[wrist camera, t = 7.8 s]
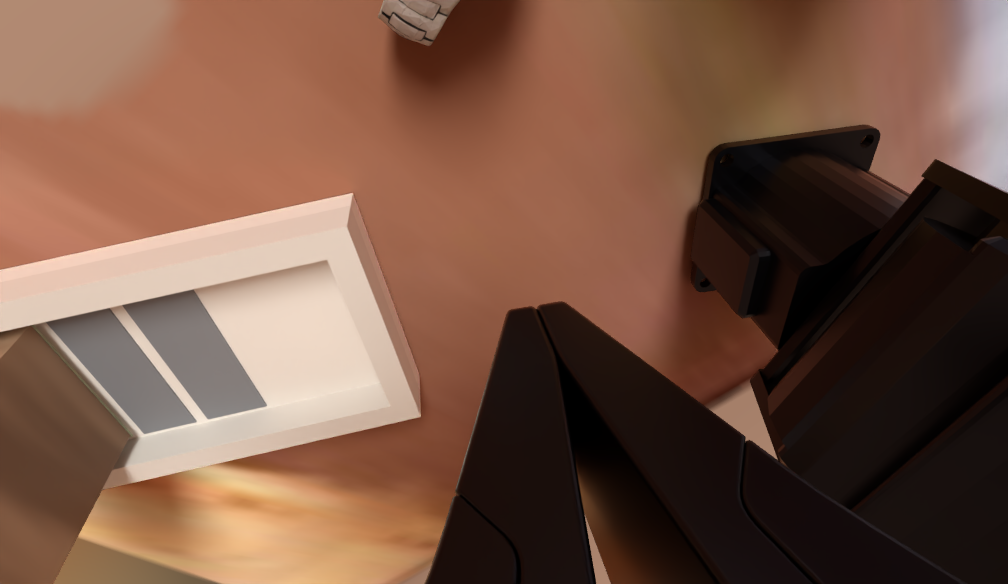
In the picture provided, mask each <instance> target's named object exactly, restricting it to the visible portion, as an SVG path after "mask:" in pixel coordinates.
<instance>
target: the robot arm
mask: <svg viewBox="0 0 1008 584" xmlns="http://www.w3.org/2000/svg"><path fill="white" fill-rule="evenodd" d="M865 136H866V138H865V140H864V141H863V142H862V143H861V141H862V139H863V138H864V137H865ZM879 140H880V132H879V130H877V129H876V128H874V127H872V126H869V125H858V126H850V127H843V128H836V129H828V130H821V131H813V132H806V133H798V134H791V135H784V136H776V137H769V138H761V139H754V140H746V141H739V142H732V143H724V144H721V145H719V146H717V147H716V148H714V150H713V151H712V152H711V154H710V157H709V162H708V169H707V175H706V182H705V188H704V195H703V200H702V201H701V203H700V204H699V206H698V211H697V218H696V224H695V231H694V238H693V244H692V251H691V259H692V260H693V266H692V273H691V284H692V285H693V286H694V288H695V289H696V290H697V291H699V292H707V291H714V290H717V291H718V292H719V293H720V295H721V296H722V297H723V298H724V299H725V301H726V302H727V303H728V304H729V306H730V307H731V308H732V309H733V310H734V312H735V313H736V314H737V315H739V316H740V317H741V318H748V317H751V318H752V320H753V321H754V322H755V323H756V324H757V326H758V327H759V328H760V329H761V330H762V332H763V333H764V334H765V335H766V336H767V337H768V339H769V340H770V341H771V342H772V343H773V345H774V346H775V347H776V348H777V349H778V350H779V351H778V352H777V353H776V354H775V356H774V357H773V358H772V359H771V360H770V362H769V363H768V364H767V365H766V366H765V368H764V369H759V370H758V371H757V372H756V374H755V375H754V376H753V377H752V378H751V380H750V383H751V386H752V389H753V391H754V394H755V397H756V400H757V402H758V405H759V408H760V411H761V414H762V416H763V419H764V422H765V425H766V427H767V430H768V433H769V436H770V438H771V441H772V444H773V447H774V450H775V453H776V455H777V458H778V460H777V459H775V458H774V457H773V456H771V455H770V454H768V453H767V452H766V451H764V450H763V449H762V448H760V447H759V446H758V445H756V444H755V443H754V442H752V441H750V440H749V441H746V442H745V436H744V435H743V434H741V433H740V432H739V431H737V430H736V429H734V428H733V427H732V426H730V425H729V424H728V423H726V422H725V421H724V420H722V419H721V418H720V417H718V416H717V415H716V414H714V413H713V412H712V411H710V410H709V409H708V408H706V407H705V406H704V405H702V404H701V403H700V402H698V401H697V400H696V399H694V398H693V397H692V396H690V395H689V394H688V393H686V392H685V391H684V390H682V389H681V388H680V387H678V386H677V385H676V384H674V383H673V382H671V381H670V380H669V379H667V378H666V377H665V376H663V375H662V374H661V373H659V372H658V371H657V370H655V369H654V368H653V367H651V366H650V365H649V364H647V363H646V362H645V361H643V360H642V359H641V358H639V357H638V356H637V355H635V354H634V353H633V352H631V351H630V350H629V349H627V348H626V347H625V346H623V345H622V344H621V343H619V342H618V341H616V340H615V339H614V338H612V337H611V336H610V335H608V334H607V333H606V332H604V331H603V330H602V329H600V328H599V327H598V326H596V325H595V324H594V323H592V322H591V321H590V320H588V319H587V318H586V317H584V316H583V315H582V314H580V313H579V312H578V311H576V310H575V309H574V308H572V307H571V306H570V305H568V304H567V303H565V302H554V303H548V304H542V305H539V306H538V307H537V309H536V308H534V307H532V306H530V307H523V308H517V309H511V310H509V311H508V312H507V314H506V317H505V321H504V324H503V328H502V331H501V335H500V338H499V341H498V345H497V348H496V352H495V355H494V359H493V362H492V366H491V369H490V373H489V376H488V379H487V383H486V386H485V390H484V393H483V397H482V400H481V404H480V407H479V410H478V414H477V417H476V421H475V424H474V428H473V431H472V435H471V438H470V441H469V445H468V448H467V452H466V455H465V459H464V462H463V466H462V469H461V473H460V476H459V479H458V483H457V486H456V490H455V494H456V496H454V497H453V499H452V502H451V506H450V509H449V513H448V516H447V519H446V523H445V526H444V529H443V532H442V535H441V538H440V541H439V544H438V547H437V551H436V554H435V557H434V560H433V563H432V566H431V569H430V571H429V574H428V576H427V579H426V582H425V584H596V579H595V573H594V568H593V562H592V556H591V550H590V545H589V539H588V533H587V527H586V521H585V516H584V513H585V515H586V518H587V521H588V523H589V526H590V529H591V531H592V534H593V537H594V540H595V542H596V545H597V547H598V550H599V553H600V556H601V558H602V561H603V564H604V566H605V569H606V571H607V574H608V577H609V580H610V582H611V584H1008V192H1006V191H1003V190H1001V189H999V188H997V187H995V186H993V185H990V184H988V183H986V182H984V181H982V180H980V179H978V178H975V177H973V176H971V175H969V174H967V173H965V172H962V171H960V170H958V169H956V168H954V167H952V166H949V165H947V164H945V163H943V162H941V161H939V160H937V159H935V160H934V161H933V162H932V164H931V165H930V166H929V167H928V168H927V170H926V171H925V172H924V173H923V174H922V177H924V179H923V180H922V181H921V183H920V184H919V185H918V186H917V187H916V188H915V190H914V191H913V192H912V193H911V194H909V193H907V192H905V191H903V190H902V189H900V188H898V187H896V186H895V185H893V184H891V183H889V182H888V181H886V180H884V179H882V178H881V177H879V176H877V175H875V174H873V173H872V172H870V171H869V169H870V166H871V163H872V160H873V157H874V154H875V151H876V149H877V146H878V143H879ZM726 154H729V156H728V158H727V160H726V161H725V162H722V163H720V161H721V159H722V157H723V156H724V155H726ZM704 278H706V280H705V281H703V282H701V281H702V280H703V279H704Z"/></svg>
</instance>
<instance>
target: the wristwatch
mask: <svg viewBox="0 0 1008 584" xmlns="http://www.w3.org/2000/svg"><path fill="white" fill-rule="evenodd" d="M459 1H460V0H384V1H383V4H382V6H381V9H380V12H379V15H378V18H379V19H381V20H382V21H383V22H384V23H386V24H387V25H388V26H389V27H390V28H391V29H392V30H393V31H395V32H396V33H397V34H398V35H400V36H402V37H404V38H406V39H408V40H411V41H415V42H419V43H421V44H424V45H426V46H430V45H431V44H432V43H433V41H434V40H435V38H436V36H437V35H438V33H439V32H440V30H441V28H442V26H443V24H444V22H445V20H446V19H447V17H448V15H449V14H450V12H451V11H452V10H453V8H454V7H455V6H456V5H457V4H458V2H459Z"/></svg>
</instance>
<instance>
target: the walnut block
mask: <svg viewBox="0 0 1008 584" xmlns="http://www.w3.org/2000/svg"><path fill="white" fill-rule="evenodd" d="M129 437H130V434H129V433H128V432H127V431H126V430H125V429H124V428H123V427H122V425H121V424H120V423H119V422H118V421H117V420H116V419H115V418H114V417H113V416H112V414H111V413H110V412H109V411H108V410H107V409H106V408H105V407H104V406H103V405H102V403H101V402H100V401H99V400H98V399H97V398H96V397H95V396H94V395H93V393H92V392H91V391H90V390H89V389H88V388H87V387H86V386H85V385H84V384H83V382H82V381H81V380H80V379H79V378H78V377H77V376H76V375H75V374H74V373H73V371H72V370H71V369H70V368H69V367H68V366H67V365H66V364H65V363H64V362H63V360H62V359H61V358H60V357H59V356H58V355H57V354H56V353H55V352H54V350H53V349H52V348H51V347H50V346H49V345H48V344H47V343H46V342H45V341H44V339H43V338H42V337H41V336H40V335H39V334H38V333H37V332H36V331H35V330H34V328H33V327H32V326H31V325H30V326H25V327H21V328H16V329H12V330H7V331H3V332H0V584H53V583H54V581H55V579H56V577H57V575H58V574H59V572H60V570H61V568H62V566H63V564H64V562H65V560H66V558H67V556H68V554H69V552H70V551H71V548H72V547H73V545H74V543H75V541H76V539H77V537H78V535H79V533H80V531H81V529H82V527H83V526H84V524H85V522H86V520H87V518H88V516H89V514H90V512H91V510H92V508H93V506H94V504H95V502H96V501H97V499H98V497H99V495H100V493H101V491H102V489H103V487H104V485H105V483H106V481H107V479H108V477H109V475H110V474H111V472H112V470H113V468H114V466H115V464H116V462H117V460H118V458H119V456H120V454H121V452H122V450H123V449H124V447H125V445H126V443H127V441H128V439H129Z"/></svg>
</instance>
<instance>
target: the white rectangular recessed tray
mask: <svg viewBox="0 0 1008 584" xmlns="http://www.w3.org/2000/svg"><path fill="white" fill-rule="evenodd" d="M30 325H31V326H32V327H33V328H34V330H35V331H36V332H37V333H38V334H39V335H40V336H41V337H42V338H43V339H44V341H45V342H46V343H47V344H48V345H49V346H50V347H51V348H52V349H53V350H54V352H55V353H56V354H57V355H58V356H59V357H60V358H61V359H62V360H63V362H64V363H65V364H66V365H67V366H68V367H69V368H70V369H71V370H72V371H73V373H74V374H75V375H76V376H77V377H78V378H79V379H80V380H81V381H82V382H83V384H84V385H85V386H86V387H87V388H88V389H89V390H90V391H91V392H92V393H93V395H94V396H95V397H96V398H97V399H98V400H99V401H100V402H101V403H102V405H103V406H104V407H105V408H106V409H107V410H108V411H109V412H110V413H111V414H112V416H113V417H114V418H115V419H116V420H117V421H118V422H119V423H120V424H121V425H122V427H123V428H124V429H125V430H126V431H127V432H128V433H129V434H130V437H129V439H128V441H127V443H126V445H125V447H124V449H123V450H122V452H121V454H120V456H119V458H118V460H117V462H116V464H115V466H114V468H113V470H112V472H111V474H110V475H109V477H108V479H107V481H106V483H105V485H104V487H103V489H102V490H104V489H109V488H113V487H118V486H122V485H126V484H131V483H135V482H139V481H144V480H148V479H152V478H157V477H161V476H165V475H170V474H174V473H179V472H183V471H187V470H192V469H196V468H200V467H205V466H209V465H213V464H218V463H222V462H227V461H231V460H235V459H240V458H244V457H248V456H253V455H257V454H261V453H266V452H270V451H275V450H279V449H283V448H288V447H292V446H296V445H301V444H305V443H309V442H314V441H318V440H322V439H327V438H331V437H336V436H340V435H344V434H349V433H353V432H357V431H362V430H366V429H370V428H375V427H379V426H384V425H388V424H392V423H397V422H401V421H405V420H410V419H414V418H418V417H421V404H420V375H419V372H418V369H417V367H416V364H415V361H414V358H413V356H412V353H411V350H410V348H409V345H408V342H407V339H406V337H405V334H404V331H403V328H402V326H401V323H400V320H399V317H398V315H397V312H396V309H395V307H394V304H393V301H392V298H391V296H390V293H389V290H388V287H387V285H386V282H385V279H384V276H383V274H382V271H381V268H380V266H379V263H378V260H377V257H376V255H375V252H374V249H373V246H372V244H371V241H370V238H369V235H368V233H367V230H366V227H365V225H364V222H363V219H362V216H361V214H360V211H359V208H358V205H357V203H356V200H355V197H354V194H353V193H350V194H346V195H341V196H337V197H332V198H327V199H323V200H318V201H314V202H309V203H304V204H300V205H295V206H291V207H286V208H282V209H277V210H272V211H268V212H263V213H259V214H254V215H250V216H245V217H240V218H236V219H231V220H227V221H222V222H218V223H213V224H208V225H204V226H199V227H195V228H190V229H186V230H181V231H176V232H172V233H167V234H163V235H158V236H153V237H149V238H144V239H140V240H135V241H131V242H126V243H121V244H117V245H112V246H108V247H103V248H99V249H94V250H89V251H85V252H80V253H76V254H71V255H67V256H62V257H57V258H53V259H48V260H44V261H39V262H34V263H30V264H25V265H21V266H16V267H12V268H7V269H2V270H0V332H3V331H7V330H12V329H16V328H21V327H25V326H30Z"/></svg>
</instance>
